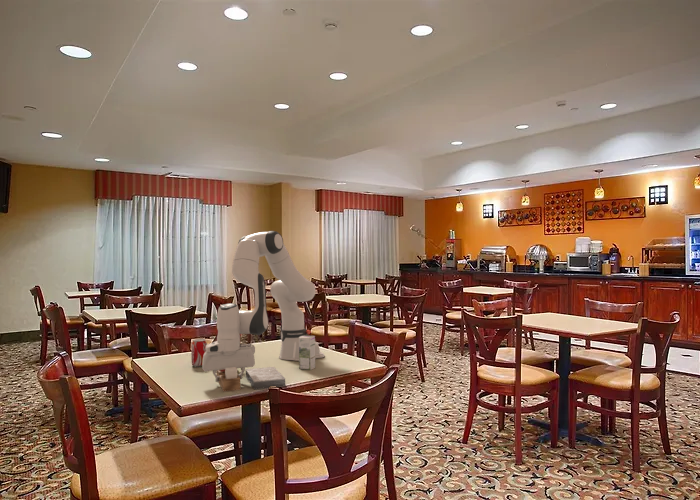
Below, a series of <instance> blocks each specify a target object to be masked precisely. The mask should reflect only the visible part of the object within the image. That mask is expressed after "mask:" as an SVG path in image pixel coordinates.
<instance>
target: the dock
mask: <svg viewBox="0 0 700 500" xmlns="http://www.w3.org/2000/svg"><path fill="white" fill-rule="evenodd" d="M245 378H246V379H247V381H248V382H249V385H251V387H252V389H253V390H263V389H270V388H269V387H270V386H276V387H275V388H281V387H283V388H284V387H286V378H285V377H284V375H283V374H282V373H280V371H279V370H278V369H276V367H275V366H269V367H268V366H267V367H258V368H257V367H256V368H245Z"/></svg>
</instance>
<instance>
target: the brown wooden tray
mask: <svg viewBox="0 0 700 500" xmlns="http://www.w3.org/2000/svg"><path fill="white" fill-rule="evenodd" d="M238 374H239V373H237V378H232V379H225V371H223V372H221V370H217V373H216V375H217V376H219V377H220V381H218V384H219V386H220V388H221V389H222V391H223V392H231V391H232V392H234V391H240V390H241V379H240V377H239V376H238Z"/></svg>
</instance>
